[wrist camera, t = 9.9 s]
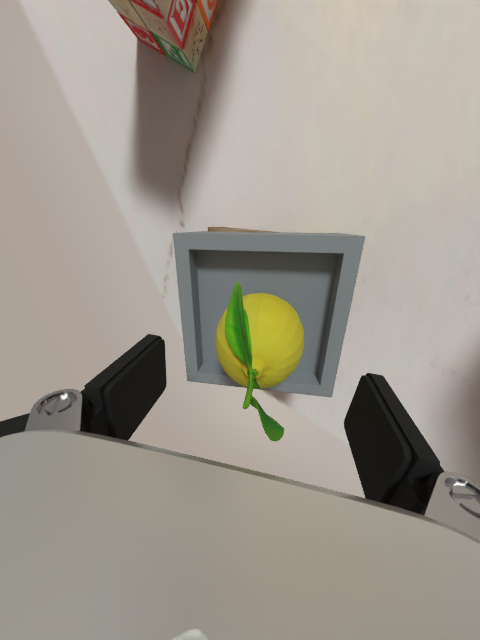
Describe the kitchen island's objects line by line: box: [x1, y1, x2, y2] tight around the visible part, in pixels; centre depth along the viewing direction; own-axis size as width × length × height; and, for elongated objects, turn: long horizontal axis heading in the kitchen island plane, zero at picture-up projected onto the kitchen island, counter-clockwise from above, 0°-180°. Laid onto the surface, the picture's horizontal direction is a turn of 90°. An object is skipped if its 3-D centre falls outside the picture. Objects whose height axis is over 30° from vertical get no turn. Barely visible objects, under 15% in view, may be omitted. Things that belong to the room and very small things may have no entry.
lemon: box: [215, 281, 304, 441], centre depth 13 cm, size 7×6×10 cm
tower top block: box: [173, 231, 365, 397], centre depth 19 cm, size 12×12×6 cm
